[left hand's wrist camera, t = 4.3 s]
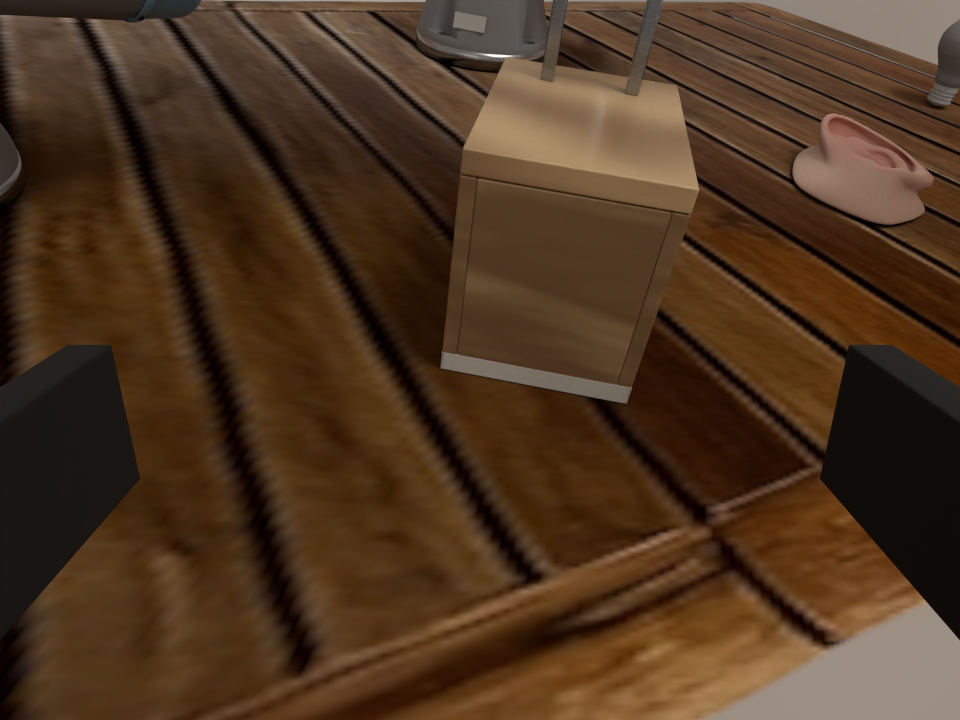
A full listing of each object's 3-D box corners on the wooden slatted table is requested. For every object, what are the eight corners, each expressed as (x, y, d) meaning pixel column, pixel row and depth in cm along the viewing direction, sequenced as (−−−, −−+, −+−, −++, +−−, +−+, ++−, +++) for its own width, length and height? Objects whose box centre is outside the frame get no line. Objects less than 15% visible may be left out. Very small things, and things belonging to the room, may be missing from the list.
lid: (503, 77, 39) (527, -107, 33) (671, 105, 38) (724, -77, 33) (459, 174, 28) (484, -72, 23) (691, 215, 28) (773, -26, 22)
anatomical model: (944, 191, 51) (790, 144, 55) (916, 238, 53) (771, 190, 57) (954, 143, 60) (822, 106, 64) (930, 185, 62) (804, 146, 66)
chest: (479, 247, 45) (500, 82, 38) (624, 273, 44) (672, 111, 38) (440, 368, 35) (459, 175, 28) (626, 403, 35) (691, 216, 28)
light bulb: (915, 107, 81) (963, 16, 75) (905, 92, 86) (949, 5, 79) (968, 117, 80) (1021, 26, 74) (956, 102, 85) (1004, 15, 78)
